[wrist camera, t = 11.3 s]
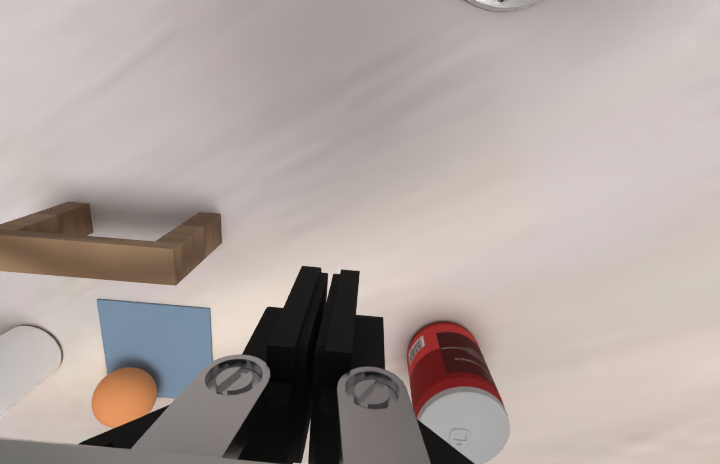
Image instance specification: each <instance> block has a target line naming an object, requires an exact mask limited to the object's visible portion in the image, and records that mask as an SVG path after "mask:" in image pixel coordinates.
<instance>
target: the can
mask: <svg viewBox="0 0 720 464" xmlns="http://www.w3.org/2000/svg"><path fill="white" fill-rule="evenodd" d="M60 363H61V349H60V346H59V344H58V342H57V341H56V340H55V339H54V337H53V336H51V335H50V334H49V333H48V332H46V331H44V330H42V329H40V328H37V327H32V326H18V327H15V328H13V329H11V330H9V331H8V332H6V333H4V334H3V335H1V336H0V417H1V416H3V415H4V414H5V413H6V412H7V411H9V410H10V409H11V408H12V407H13V406H15V405H16V404H17V403H18V402H19V401H20V400H22V399H23V398H24V397H25V396H26V395H28V394H29V393H30V392H31V391H32V390H33V389H35V388H36V387H37V386H38V385H39V384H40V383H42V382H43V381H44V380H45V379H46V378H47V377H49V376H50V375H51V374H52V373H53V372H54V371H55V370H56V369H57V368H58V367H59V365H60Z"/></svg>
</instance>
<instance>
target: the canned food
mask: <svg viewBox="0 0 720 464" xmlns="http://www.w3.org/2000/svg"><path fill="white" fill-rule="evenodd" d="M407 363H408V371H409V380H410V388H411V397H412V405H413V410H414V413H415V416H416V418H417V419H418V420H419V421H420V422H422V423H423V424H424V425H426V426H427V427H428V428H429V429H431V430H432V431H433V432H435V433H436V434H437V435H438V436H440V437H441V438H442V439H444V440H445V441H446V442H447V443H449V444H450V445H451V446H453V447H454V448H455V449H456V450H458V451H459V452H460V453H462V454H463V455H464V456H465V457H467V458H468V459H469V460H471V461H472V462H473V463H474V464H483V463H485V462H487V461H489V460H491V459H492V458H494V457H495V456H496V455H497V454H498V453H499V452H500V451H501V450H502V449H503V447H504V446H505V444H506V442H507V439H508V437H509V431H510V425H509V419H508V415H507V412H506V410H505V407H504V405H503V402H502V400H501V397H500V395H499V393H498V390H497V388H496V386H495V383H494V381H493V379H492V376H491V374H490V372H489V369H488V367H487V365H486V362H485V360H484V358H483V355H482V353H481V351H480V348H479V346H478V344H477V341H476V340H475V339H474V337H473V336H472V335H471V334H470V333H469V332H468V331H467V330H466V329H464V328H463V327H461V326H459V325H457V324H454V323H449V322H439V323H434V324H431V325H428V326H426V327H425V328H423V329H421V330H420V331H419V332H418V333H417V334H416V335H415V337H414V338H413V340H412V342H411V344H410V346H409V350H408V354H407Z"/></svg>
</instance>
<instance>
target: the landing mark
mask: <svg viewBox="0 0 720 464" xmlns="http://www.w3.org/2000/svg"><path fill="white" fill-rule="evenodd" d="M97 305H98V312H99V319H100V326H101V332H102V339H103V346H104V353H105V359H106V366H107V373H108V375H109V374H110V373H112V372H114V371H116V370H118V369H122V368H127V367H133V368H139V369H142V370H144V371H146V372H147V373H149V374H150V375H151V376H152V378H153V379H154V381H155V383H156V387H157V397H162V398H174V399H176V398H177V397H178V396H179V395H180V393H181V392H182V391H183V390H184V389H185V388H186V387H187V386H188V384H189V383H190V382H191V381H192V380H193V379H194V378H195V377H196V376H197V374H198V373H199V372H200V371H201V370H202V369H203V368H204V367H205V366H207V365H208V364H209V363H211V362H213V358H212V338H211V317H210V308H200V307H188V306H176V305H164V304H152V303H140V302H128V301H116V300H104V299H97Z"/></svg>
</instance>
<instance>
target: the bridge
mask: <svg viewBox="0 0 720 464" xmlns="http://www.w3.org/2000/svg"><path fill="white" fill-rule="evenodd" d="M91 233H93V229H92V222H91V215H90V208H89V204H88V203H76V202H67V203H64V204H61V205H58V206H55V207H52V208H49V209H46V210H43V211H40V212H37V213H34V214H31V215H28V216H25V217H22V218H19V219H15V220H12V221H9V222H6V223H3V224H0V271H7V272H19V273H31V274H43V275H55V276H67V277H79V278H91V279H104V280H116V281H128V282H140V283H152V284H164V285H177V284H178V283H179V282H180V281H181V280H182V279H183V278H184V277H186V276H187V275H188V274H189V273H190V272H191V271H192V270H193V269H194V268H195V267H196V266H197V265H199V264H200V263H201V262H202V261H203V260H204V259H205V258H206V257H207V256H208V255H209V254H210V253H211V252H213V251H214V250H215V249H216V248H217V247H218V246H219V245H220V244H221V243H222V239H221V214H212V213H199V214H197V215H196V216H194V217H193V218H191V219H189V220H188V221H186V222H185V223H183V224H182V225H180V226H178V227H177V228H175V229H174V230H172V231H171V232H169V233H168V234H166V235H164V236H163V237H161V238H160V239H158V240H157V241H155V242H154V241H142V240H129V239H117V238H105V237H93V236H87V235H89V234H91Z"/></svg>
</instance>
